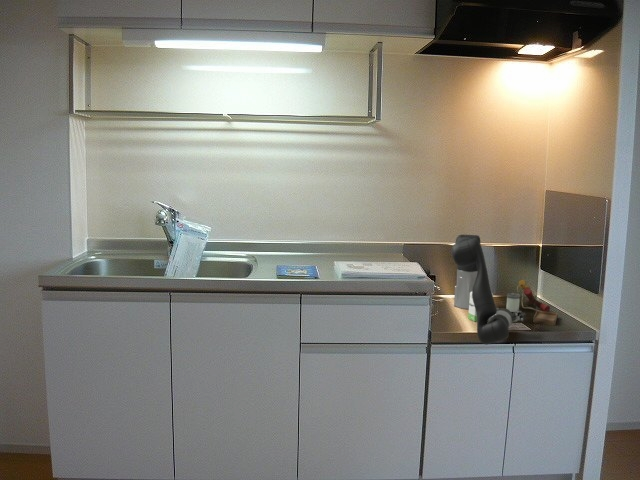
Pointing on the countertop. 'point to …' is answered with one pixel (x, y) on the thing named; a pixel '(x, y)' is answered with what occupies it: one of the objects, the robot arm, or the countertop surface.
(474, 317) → the ink box
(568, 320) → the countertop surface
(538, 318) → the tray
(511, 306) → the canister
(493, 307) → the robot arm
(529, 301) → the slingshot
